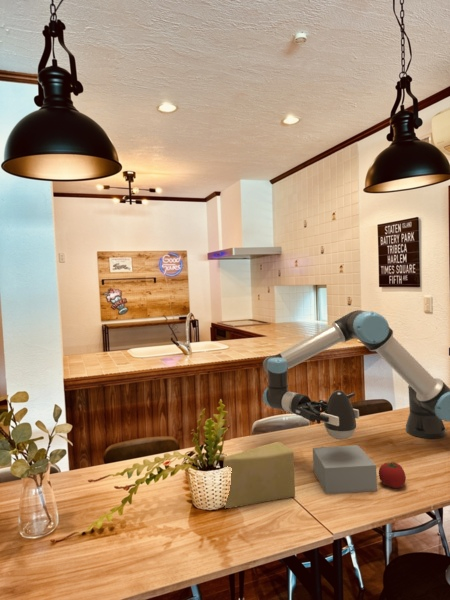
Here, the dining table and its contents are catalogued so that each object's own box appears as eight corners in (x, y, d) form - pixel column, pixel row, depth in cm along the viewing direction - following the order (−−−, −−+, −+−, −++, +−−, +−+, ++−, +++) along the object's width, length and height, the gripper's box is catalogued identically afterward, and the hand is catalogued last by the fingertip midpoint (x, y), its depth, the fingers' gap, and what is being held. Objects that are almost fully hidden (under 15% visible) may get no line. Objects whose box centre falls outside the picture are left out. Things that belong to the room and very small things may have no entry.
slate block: (358, 467, 138) (357, 445, 138) (377, 490, 122) (376, 465, 122) (313, 470, 138) (312, 447, 138) (326, 493, 122) (324, 468, 122)
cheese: (230, 517, 112) (228, 464, 112) (218, 500, 121) (215, 452, 121) (297, 497, 120) (294, 449, 120) (280, 484, 129) (278, 439, 129)
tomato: (406, 492, 120) (405, 469, 120) (378, 488, 123) (377, 465, 123) (406, 481, 127) (405, 458, 127) (379, 477, 131) (378, 455, 130)
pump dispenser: (361, 441, 124) (360, 394, 124) (328, 442, 125) (327, 395, 124) (351, 430, 135) (350, 386, 134) (321, 431, 135) (319, 387, 135)
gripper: (317, 407, 151) (369, 421, 134) (275, 420, 138) (326, 438, 120) (316, 388, 151) (368, 399, 133) (274, 399, 138) (325, 413, 120)
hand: (348, 417), depth 127 cm, fingers closed on pump dispenser, 10 cm apart
